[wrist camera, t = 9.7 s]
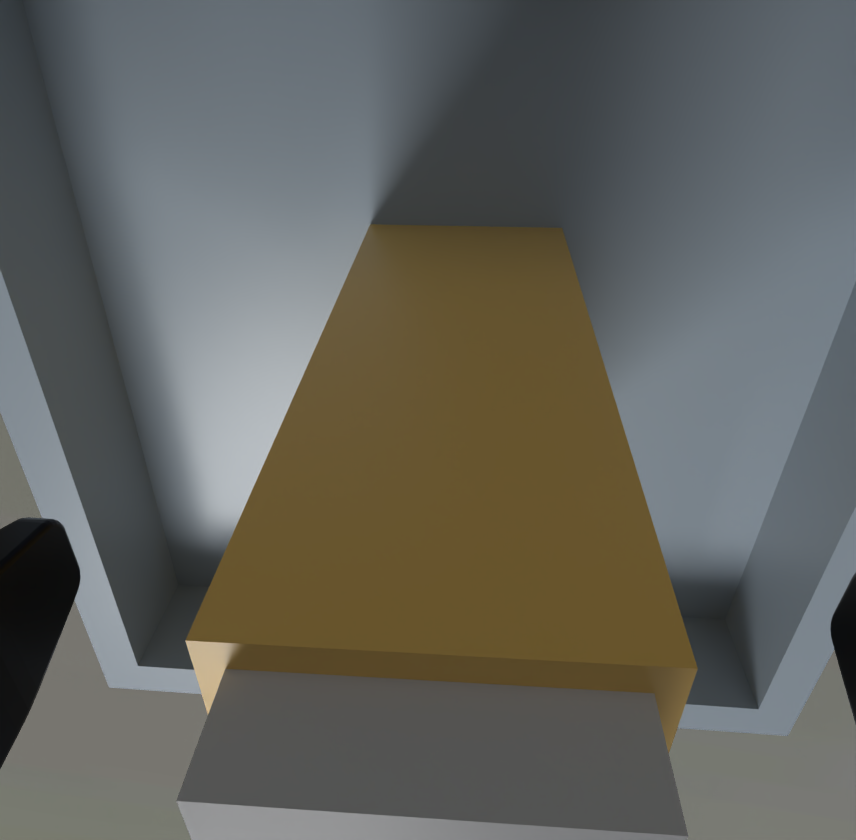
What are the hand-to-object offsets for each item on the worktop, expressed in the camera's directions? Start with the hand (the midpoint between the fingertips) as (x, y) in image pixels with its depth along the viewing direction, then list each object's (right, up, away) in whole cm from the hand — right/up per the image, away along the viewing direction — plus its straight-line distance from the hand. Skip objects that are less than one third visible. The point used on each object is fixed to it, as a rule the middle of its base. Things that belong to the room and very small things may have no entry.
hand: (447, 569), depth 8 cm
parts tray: (0, +3, +5) cm, 6 cm away
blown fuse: (0, +3, +4) cm, 5 cm away
